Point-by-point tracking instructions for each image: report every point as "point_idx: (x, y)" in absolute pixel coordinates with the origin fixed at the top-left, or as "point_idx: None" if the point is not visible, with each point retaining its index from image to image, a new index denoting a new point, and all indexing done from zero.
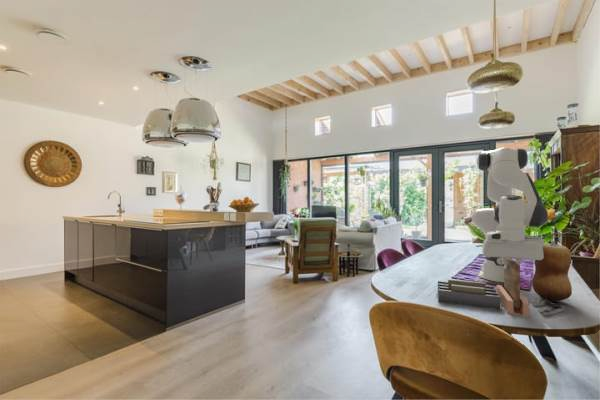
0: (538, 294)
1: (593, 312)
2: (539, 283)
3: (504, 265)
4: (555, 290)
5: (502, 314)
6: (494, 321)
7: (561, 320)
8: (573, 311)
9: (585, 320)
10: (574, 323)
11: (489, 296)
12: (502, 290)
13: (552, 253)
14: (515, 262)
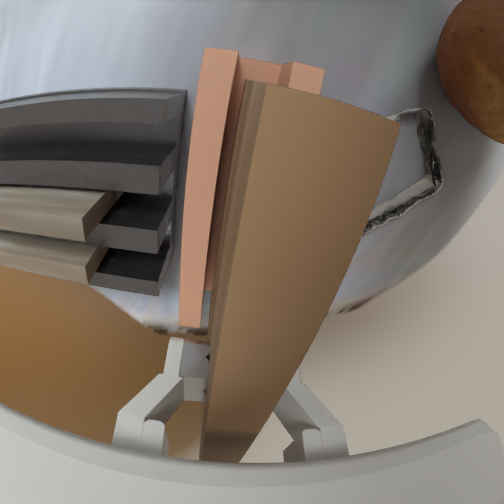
0: (437, 63)
1: (499, 174)
2: (478, 84)
3: (166, 358)
4: (491, 137)
5: (178, 254)
6: (143, 310)
7: (363, 260)
8: (461, 171)
9: (431, 243)
10: (382, 273)
11: (116, 286)
12: (198, 181)
13: None
14: (238, 458)
